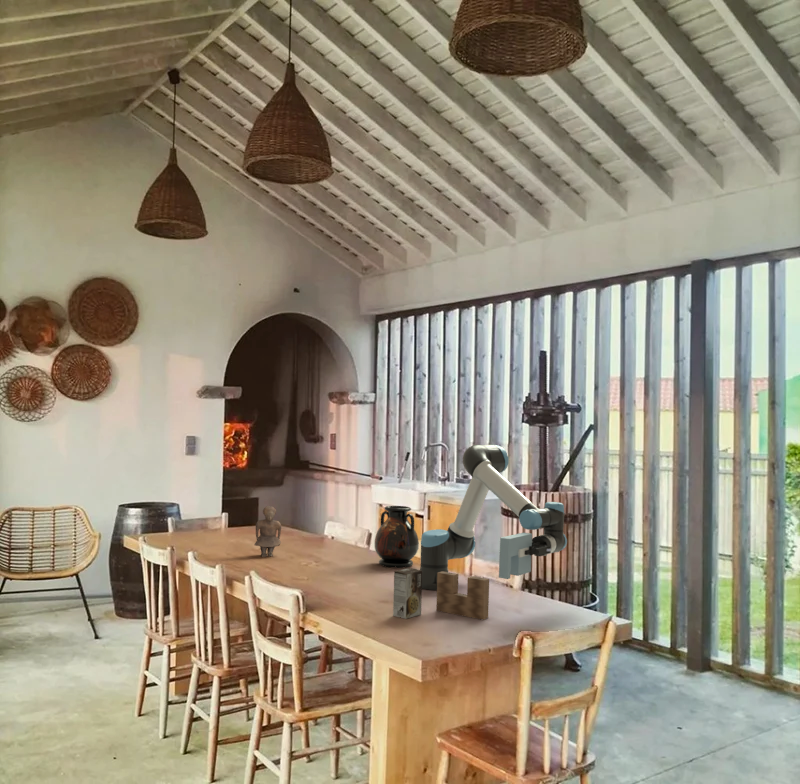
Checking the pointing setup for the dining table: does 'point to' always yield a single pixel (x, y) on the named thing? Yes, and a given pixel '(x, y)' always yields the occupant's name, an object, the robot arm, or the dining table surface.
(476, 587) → the u-shaped checkered block
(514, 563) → the light blue block
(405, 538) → the amphora vase
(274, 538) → the clay figurine
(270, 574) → the dining table surface
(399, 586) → the coffee box
